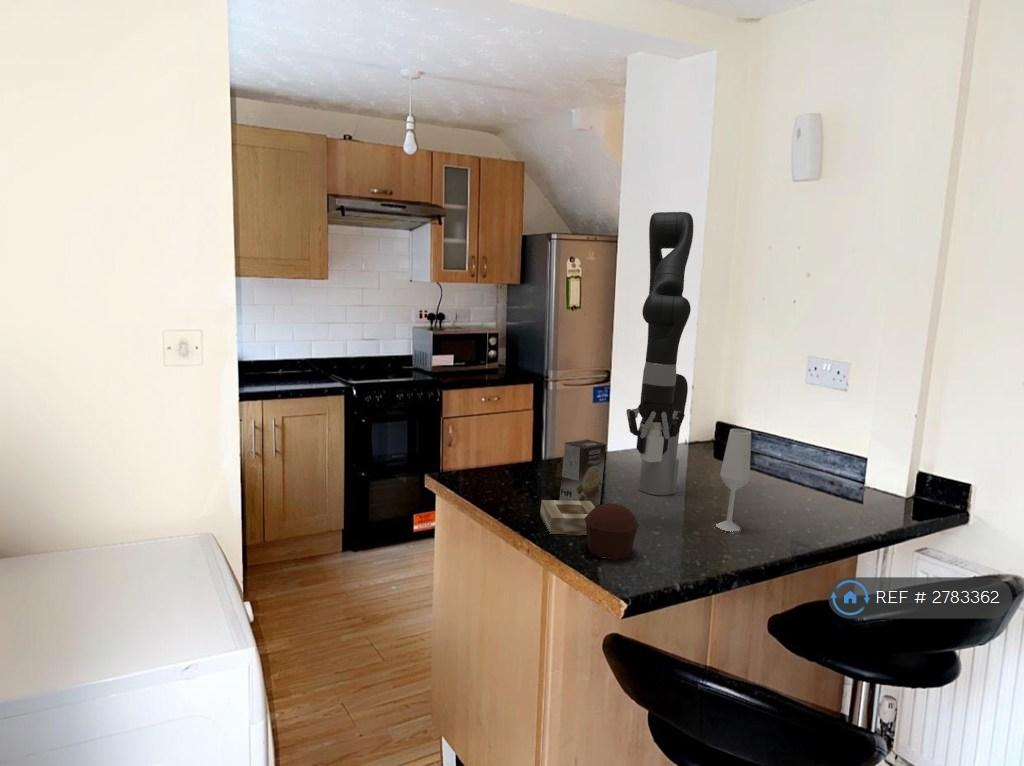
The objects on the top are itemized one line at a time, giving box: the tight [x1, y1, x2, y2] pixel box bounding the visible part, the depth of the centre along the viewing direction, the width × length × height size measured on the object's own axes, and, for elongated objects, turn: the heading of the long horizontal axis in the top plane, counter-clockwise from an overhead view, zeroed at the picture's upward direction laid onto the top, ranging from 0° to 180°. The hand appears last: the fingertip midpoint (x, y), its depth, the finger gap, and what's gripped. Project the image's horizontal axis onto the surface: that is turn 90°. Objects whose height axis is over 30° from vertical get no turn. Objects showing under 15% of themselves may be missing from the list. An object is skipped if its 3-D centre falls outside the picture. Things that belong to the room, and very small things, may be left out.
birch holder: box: [539, 499, 596, 536], centre depth 161 cm, size 12×12×4 cm
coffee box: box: [558, 438, 607, 507], centre depth 176 cm, size 9×6×16 cm
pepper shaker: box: [639, 422, 664, 462], centre depth 164 cm, size 4×4×10 cm
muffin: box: [584, 502, 640, 560], centre depth 147 cm, size 12×11×10 cm
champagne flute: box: [715, 428, 752, 532], centre depth 166 cm, size 7×7×24 cm
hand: (651, 452), depth 165 cm, fingers closed on pepper shaker, 4 cm apart
